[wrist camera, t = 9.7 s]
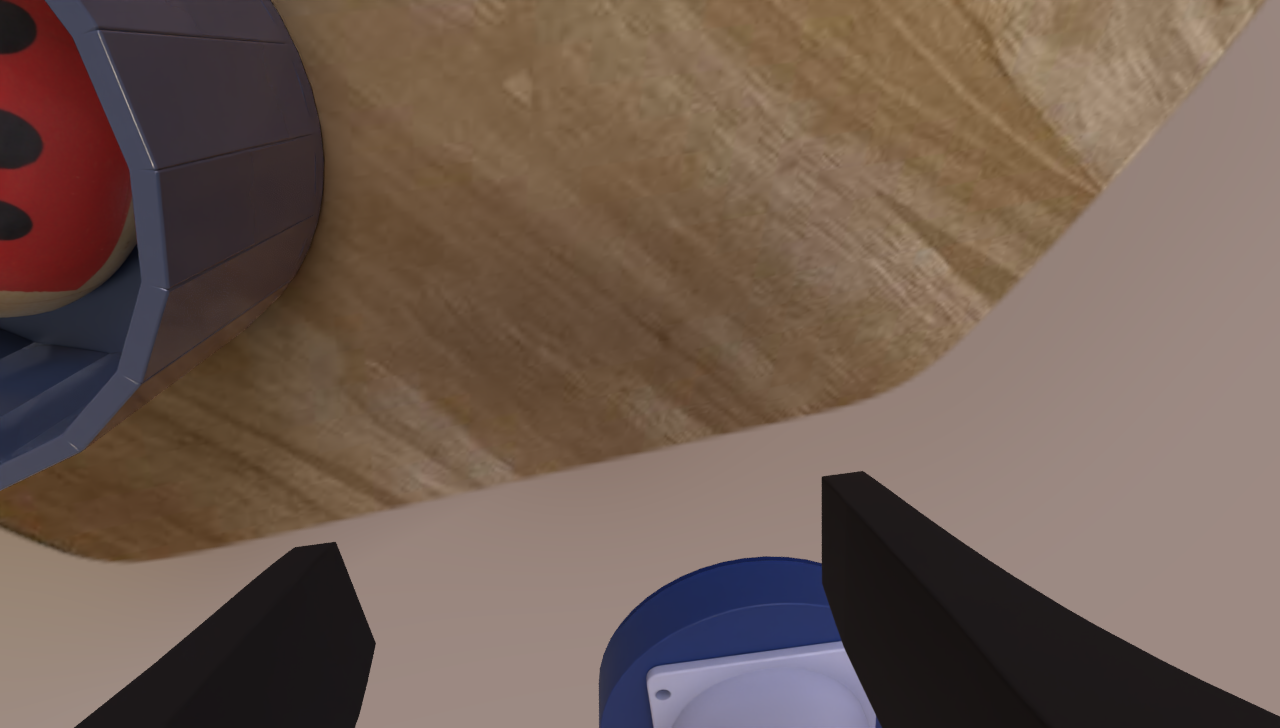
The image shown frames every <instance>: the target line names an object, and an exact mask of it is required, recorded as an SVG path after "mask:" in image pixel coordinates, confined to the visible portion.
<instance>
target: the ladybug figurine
mask: <svg viewBox="0 0 1280 728" xmlns="http://www.w3.org/2000/svg"><path fill="white" fill-rule="evenodd" d="M136 244H137V238H136V229H135V220H134V210H133V201H132V192H131V183H130V174H129V168H128V166H127V164H126V161H125V159H124V157H123V154H122V152H121V150H120V147H119V145H118V143H117V140H116V138H115V136H114V133H113V131H112V129H111V126H110V124H109V122H108V119H107V117H106V115H105V112H104V110H103V108H102V105H101V103H100V101H99V98H98V96H97V94H96V91H95V89H94V87H93V84H92V82H91V80H90V78H89V75H88V73H87V71H86V68H85V66H84V64H83V61H82V59H81V57H80V54H79V52H78V50H77V47H76V45H75V43H74V40H73V38H72V36H71V35H70V34H69V32H68V31H67V30H66V28H65V27H64V26H63V24H62V23H61V22H60V20H59V19H58V18H57V16H56V15H55V14H54V12H53V11H52V10H51V8H50V7H49V6H48V4H47V3H46V2H45V0H0V318H2V317H18V316H28V315H35V314H40V313H44V312H49V311H53V310H56V309H58V308H61V307H63V306H65V305H68V304H70V303H72V302H74V301H76V300H78V299H80V298H82V297H83V296H85V295H87V294H88V293H90V292H92V291H93V290H95V289H96V288H98V287H99V286H100V285H102V284H103V283H104V282H105V281H107V280H108V279H109V278H110V277H111V276H112V275H113V274H114V273H115V272H116V271H117V270H118V269H119V268H120V266H121V265H122V264H123V263H124V261H125V260H126V259H127V257H128V256H129V254H130V253H131V252H132V250H133V248H134V247H135V245H136Z"/></svg>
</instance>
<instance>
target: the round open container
mask: <svg viewBox="0 0 1280 728" xmlns="http://www.w3.org/2000/svg"><path fill="white" fill-rule="evenodd" d="M45 2H46V3H47V4H48V6H49V7H50V8H51V10H52V11H53V12H54V14H55V15H56V16H57V18H58V19H59V20H60V22H61V23H62V24H63V26H64V27H65V28H66V30H67V31H68V32H69V34H70V35H71V36H72V38H73V40H74V43H75V45H76V47H77V50H78V52H79V54H80V57H81V59H82V61H83V64H84V66H85V68H86V71H87V73H88V75H89V78H90V80H91V82H92V84H93V87H94V89H95V91H96V94H97V96H98V98H99V101H100V103H101V105H102V108H103V110H104V112H105V115H106V117H107V119H108V122H109V124H110V126H111V129H112V131H113V133H114V136H115V138H116V140H117V143H118V145H119V147H120V150H121V152H122V154H123V157H124V159H125V161H126V164H127V166H128V168H129V174H130V183H131V192H132V201H133V210H134V220H135V229H136V238H137V244H136V245H135V247H134V248H133V250H132V252H131V253H130V254H129V256H128V257H127V259H126V260H125V261H124V263H123V264H122V265H121V266H120V268H119V269H118V270H117V271H116V272H115V273H114V274H113V275H112V276H111V277H110V278H109V279H108V280H107V281H105V282H104V283H103V284H102V285H100V286H99V287H98V288H96V289H95V290H93V291H92V292H90V293H88V294H87V295H85V296H83V297H82V298H80V299H78V300H76V301H74V302H72V303H70V304H68V305H65V306H63V307H61V308H58V309H56V310H53V311H49V312H44V313H40V314H35V315H28V316H18V317H2V318H0V491H1V490H3V489H5V488H7V487H10V486H12V485H14V484H16V483H18V482H20V481H22V480H24V479H26V478H28V477H30V476H32V475H35V474H37V473H39V472H41V471H43V470H45V469H47V468H49V467H51V466H53V465H55V464H57V463H60V462H62V461H64V460H66V459H68V458H70V457H72V456H74V455H76V454H78V453H80V452H82V451H83V450H85V449H86V448H87V447H89V446H90V445H91V444H93V443H94V442H95V441H97V440H98V439H99V438H101V437H102V436H103V435H105V434H106V433H107V432H109V431H110V430H111V429H113V428H114V427H115V426H117V425H118V424H120V423H121V422H122V421H124V420H125V419H126V418H128V417H129V416H130V415H132V414H133V413H134V412H136V411H137V410H138V409H140V408H141V407H142V406H144V405H145V404H146V403H148V402H149V401H150V400H152V399H153V398H154V397H156V396H157V395H158V394H160V393H161V392H162V391H164V390H165V389H166V388H168V387H169V386H170V385H172V384H173V383H174V382H176V381H177V380H178V379H180V378H181V377H182V376H184V375H185V374H186V373H188V372H189V371H190V370H192V369H193V368H195V367H196V366H197V365H199V364H200V363H201V362H203V361H204V360H205V359H207V358H208V357H209V356H211V355H212V354H213V353H215V352H216V351H217V350H219V349H220V348H221V347H223V346H224V345H225V344H227V343H228V342H229V341H231V340H232V339H233V338H235V337H236V336H237V335H239V334H240V333H241V332H243V331H244V330H245V329H247V328H248V327H249V326H250V325H251V323H252V322H253V321H254V320H255V319H256V318H257V317H258V316H259V315H260V314H262V313H263V312H264V311H265V310H266V309H267V308H268V307H269V306H270V305H271V304H272V303H273V302H274V301H275V300H276V299H277V298H278V297H279V296H280V295H281V294H282V293H283V291H284V290H285V289H286V287H287V286H288V284H289V283H290V282H291V280H292V279H293V278H294V276H295V275H296V273H297V272H298V270H299V268H300V266H301V264H302V262H303V260H304V258H305V256H306V254H307V252H308V250H309V248H310V245H311V242H312V238H313V235H314V232H315V229H316V226H317V223H318V219H319V212H320V206H321V200H322V194H323V165H324V157H323V149H322V140H321V131H320V123H319V119H318V115H317V111H316V107H315V102H314V98H313V94H312V90H311V87H310V84H309V81H308V79H307V76H306V73H305V70H304V68H303V65H302V62H301V59H300V57H299V54H298V52H297V50H296V47H295V45H294V43H293V41H292V39H291V37H290V35H289V33H288V31H287V29H286V27H285V25H284V23H283V21H282V19H281V17H280V15H279V14H278V12H277V10H276V9H275V7H274V6H273V4H272V3H271V1H270V0H45Z"/></svg>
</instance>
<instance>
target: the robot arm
mask: <svg viewBox="0 0 1280 728" xmlns="http://www.w3.org/2000/svg"><path fill="white" fill-rule="evenodd" d="M822 585H823V588H824V591H825V594H826V597H827V600H828V603H829V606H830V609H831V612H832V615H833V618H834V621H835V624H836V627H837V629H838V632H839V635H840V638H841V641H837V642H830V643H823V644H815V645H808V646H800V647H793V648H786V649H778V650H771V651H763V652H756V653H749V654H741V655H734V656H726V657H719V658H712V659H704V660H697V661H690V662H682V663H675V664H667V665H660V666H656V667H653V668H652V669H650V670H649V671H648V673H647V676H646V680H647V689H648V695H649V702H650V708H651V714H652V721H653V727H654V728H875V724H876V717H877V719H878V721H879V723H880V725H881V727H882V728H1280V716H1278V715H1275V714H1273V713H1271V712H1269V711H1266V710H1264V709H1262V708H1260V707H1258V706H1256V705H1254V704H1252V703H1250V702H1247V701H1245V700H1243V699H1241V698H1239V697H1237V696H1234V695H1232V694H1230V693H1228V692H1226V691H1224V690H1222V689H1219V688H1217V687H1215V686H1213V685H1211V684H1209V683H1206V682H1204V681H1202V680H1200V679H1198V678H1196V677H1194V676H1192V675H1190V674H1188V673H1186V672H1184V671H1182V670H1180V669H1178V668H1176V667H1174V666H1172V665H1170V664H1168V663H1166V662H1164V661H1162V660H1160V659H1158V658H1156V657H1154V656H1153V655H1150V654H1149V653H1147V652H1145V651H1143V650H1141V649H1139V648H1138V647H1136V646H1134V645H1132V644H1130V643H1128V642H1126V641H1124V640H1123V639H1121V638H1119V637H1117V636H1115V635H1113V634H1111V633H1109V632H1108V631H1106V630H1104V629H1102V628H1100V627H1098V626H1096V625H1095V624H1093V623H1091V622H1089V621H1087V620H1086V619H1084V618H1082V617H1080V616H1079V615H1077V614H1075V613H1073V612H1072V611H1070V610H1068V609H1067V608H1065V607H1063V606H1061V605H1060V604H1058V603H1056V602H1055V601H1053V600H1052V599H1050V598H1048V597H1047V596H1045V595H1043V594H1042V593H1040V592H1039V591H1037V590H1035V589H1034V588H1032V587H1030V586H1029V585H1027V584H1025V583H1024V582H1022V581H1021V580H1019V579H1017V578H1015V577H1014V576H1013V575H1011V574H1010V573H1008V572H1006V571H1005V570H1003V569H1002V568H1000V567H999V566H997V565H996V564H994V563H993V562H991V561H989V560H988V559H986V558H985V557H983V556H982V555H980V554H979V553H978V552H976V551H975V550H973V549H972V548H970V547H969V546H967V545H965V544H964V543H963V542H961V541H960V540H958V539H957V538H956V537H954V536H952V535H951V534H950V533H948V532H947V531H946V530H944V529H943V528H941V527H940V526H938V525H937V524H936V523H934V522H933V521H931V520H930V519H929V518H927V517H926V516H924V515H923V514H921V513H920V512H918V511H917V510H916V509H915V508H913V507H912V506H911V505H909V504H908V503H906V502H905V501H904V500H902V499H901V498H900V497H898V496H897V495H896V494H894V493H893V492H891V491H890V490H889V489H887V488H886V487H885V486H883V485H882V484H880V483H879V482H878V481H876V480H875V479H873V478H872V477H871V476H869V475H868V474H866V473H865V472H863V471H861V472H853V473H845V474H838V475H830V476H823V477H822ZM375 644H376V643H375V640H374V638H373V635H372V633H371V630H370V628H369V625H368V623H367V620H366V618H365V615H364V612H363V610H362V607H361V605H360V602H359V600H358V597H357V595H356V592H355V589H354V587H353V584H352V582H351V579H350V577H349V574H348V572H347V569H346V567H345V564H344V562H343V559H342V556H341V554H340V551H339V549H338V547H337V544H336V542H332V543H324V544H317V545H309V546H302V547H295V548H293V549H292V550H291V551H289V552H288V553H286V554H285V555H284V556H283V557H281V558H280V559H278V560H277V561H276V562H275V563H273V564H272V565H271V566H270V567H268V568H267V569H266V570H265V571H263V572H262V573H261V574H260V575H259V576H257V577H256V578H255V579H254V580H253V581H251V582H250V583H249V584H248V585H247V586H246V587H244V588H243V589H242V590H241V591H240V592H238V593H237V594H236V595H235V596H234V597H233V598H231V599H230V600H229V601H228V602H227V603H226V604H224V605H223V606H222V607H221V608H220V609H218V610H217V611H216V612H215V613H214V614H213V615H212V616H210V617H209V618H208V619H207V620H205V621H204V622H203V623H202V624H201V625H200V626H199V627H197V628H196V629H195V630H194V631H192V632H191V633H190V634H189V635H188V636H187V637H185V638H184V639H183V640H182V641H181V642H179V643H178V644H177V645H176V646H175V647H174V648H172V649H171V650H170V651H169V652H168V653H167V654H165V655H164V656H163V657H162V658H160V659H159V660H158V661H157V662H156V663H154V664H153V665H152V666H151V667H150V668H148V669H147V670H146V671H145V672H143V673H142V674H141V675H140V676H138V677H137V678H136V679H135V680H133V681H132V682H131V683H130V684H128V685H127V686H126V687H125V688H123V689H122V690H121V691H119V692H118V693H117V694H116V695H114V696H113V697H112V698H111V699H109V700H108V701H107V702H106V703H104V704H103V705H102V706H101V707H99V708H98V709H97V710H96V711H94V712H93V713H92V714H91V715H90V716H88V717H87V718H86V719H84V720H83V721H82V722H81V723H79V724H78V725H77V726H76V727H74V728H355V725H356V722H357V720H358V717H359V714H360V710H361V706H362V702H363V698H364V694H365V690H366V686H367V682H368V677H369V673H370V668H371V663H372V659H373V654H374V649H375Z"/></svg>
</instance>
